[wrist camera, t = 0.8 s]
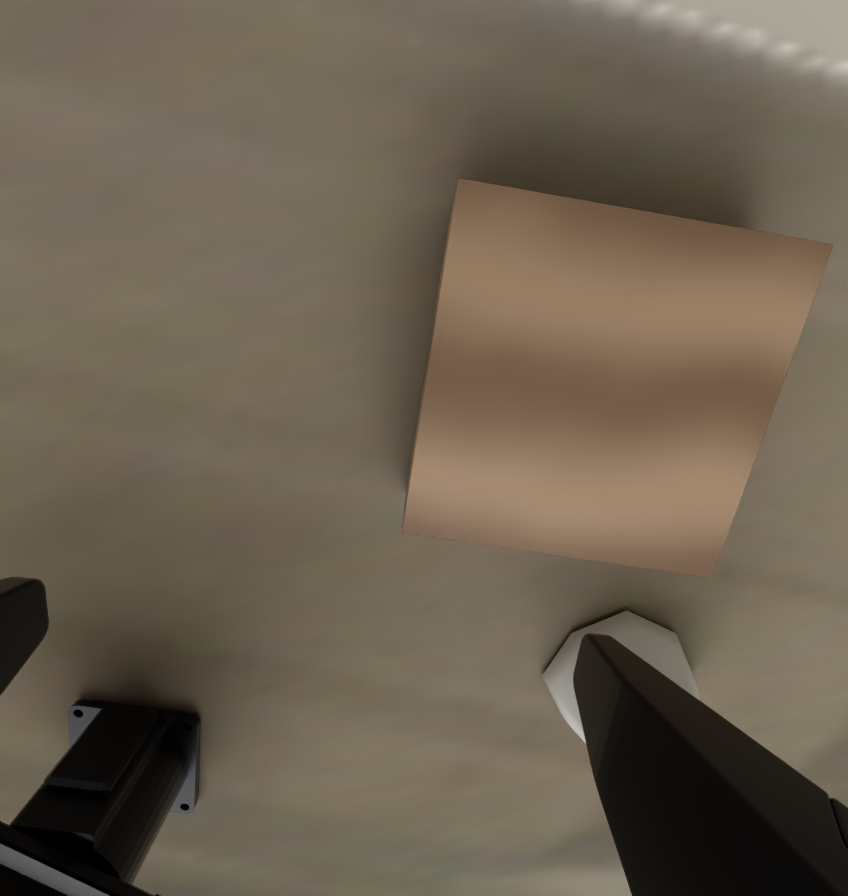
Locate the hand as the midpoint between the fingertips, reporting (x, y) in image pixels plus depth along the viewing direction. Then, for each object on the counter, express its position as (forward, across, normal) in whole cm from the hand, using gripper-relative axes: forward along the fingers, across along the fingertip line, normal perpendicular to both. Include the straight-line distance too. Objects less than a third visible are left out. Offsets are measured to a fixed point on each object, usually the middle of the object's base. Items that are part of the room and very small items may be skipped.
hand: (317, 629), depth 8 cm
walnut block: (+13, -8, -3) cm, 16 cm away
